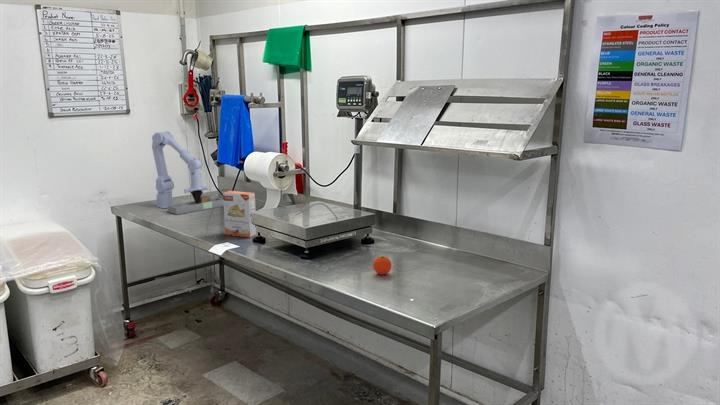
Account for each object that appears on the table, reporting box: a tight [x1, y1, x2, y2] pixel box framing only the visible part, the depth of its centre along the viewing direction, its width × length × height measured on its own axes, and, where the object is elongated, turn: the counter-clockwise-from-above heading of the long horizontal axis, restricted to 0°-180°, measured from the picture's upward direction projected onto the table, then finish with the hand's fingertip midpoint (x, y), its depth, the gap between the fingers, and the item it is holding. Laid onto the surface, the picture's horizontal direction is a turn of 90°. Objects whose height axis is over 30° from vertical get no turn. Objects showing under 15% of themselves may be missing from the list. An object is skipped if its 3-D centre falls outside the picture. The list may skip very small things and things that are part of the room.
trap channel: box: [166, 197, 224, 216], centre depth 304 cm, size 12×32×4 cm, turn 139°
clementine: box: [372, 255, 392, 276], centre depth 196 cm, size 8×7×7 cm
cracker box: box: [222, 190, 257, 239], centre depth 247 cm, size 14×6×21 cm, turn 70°
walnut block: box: [199, 195, 212, 203], centre depth 307 cm, size 5×6×4 cm
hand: (197, 203), depth 304 cm, fingers closed
